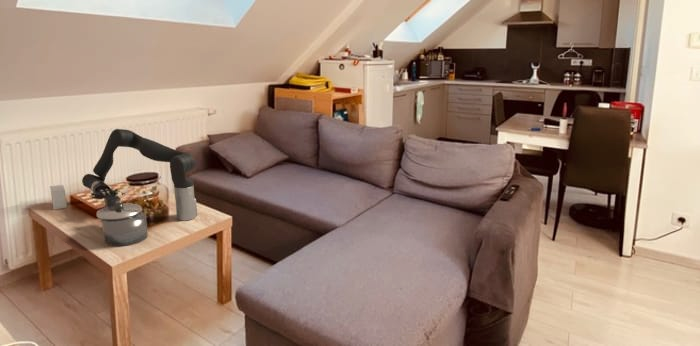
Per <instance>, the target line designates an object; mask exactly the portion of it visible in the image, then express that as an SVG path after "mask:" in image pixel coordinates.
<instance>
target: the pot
mask: <svg viewBox="0 0 700 346" xmlns="http://www.w3.org/2000/svg"><path fill="white" fill-rule="evenodd" d="M101 223H102V232H103V238H104V243H105V244H106V245H107V246H111V247H127V246H132V245H136V244H139V243H141V242H143V241H145V240H146V239H147V238H148V237H149V234H148V232H149V231H148V225H147V224H148V223H147V215H146V212H145V213H144V212H143V211H142V212H141V213H140V214H138V215H136V216H134V217H131V218H127V219H122V220H102V219H101Z"/></svg>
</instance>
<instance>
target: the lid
mask: <svg viewBox="0 0 700 346" xmlns="http://www.w3.org/2000/svg"><path fill="white" fill-rule="evenodd" d="M103 200H104V207H101V208H100V209H98V210H97V212H96V217H97V218H98V219H99V220H101V221H102V220H122V219H127V218H131V217H134V216H136V215H138V214H140V213H141V212H143V207H142V206H141V205H140V204H133V203H124V202H123V203H122V202H121V201H122V200H121V197H120V196H119V194H117V195H116V196H112V197H106V198H103Z"/></svg>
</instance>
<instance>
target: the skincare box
mask: <svg viewBox="0 0 700 346" xmlns="http://www.w3.org/2000/svg"><path fill="white" fill-rule="evenodd" d="M49 190H50V194H51V202H52V209H53V210H61V209H66V208H68V204H67V196H66V190H65V186H64V184H58V185H57V184H56V185H50V186H49Z"/></svg>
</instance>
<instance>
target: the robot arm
mask: <svg viewBox="0 0 700 346" xmlns="http://www.w3.org/2000/svg"><path fill="white" fill-rule="evenodd" d="M119 147H120V148H121V147H122V148H123V147H124V148H132V149H134V150H137V151H139V153H140V155H142V156H143V157H145V158H147V159H149V160H152V161H155V162H163V163H169V169H170V176H171V177H170V178H171V180H172V183H173V190H174V198H175V199H174V200H175V202H174V203H175V210H176V219H177V220H178V221H182V222H183V221H185V222H186V221H192V220H193V219H196V217H197V216H198V207H197V204H198V203H197V198H195V188H194V180H193V179H192V178H189V177H187V175H186V173H189V172H190V171H193V170H194V169H195V168H196V166H197V161H196V159H195V158H194V156H192V155H191V154H190V153H187V152H184V151H179V150H176V149H173V148H171V147H169V146H167V145H164V144H161V143H160V142H157V141H155V140H152V139H149V138H146V137H143V136H140V135H139V134H138V133H136V132H134V131H132V130H130V129H123V128H122V129H121V128H116V129H113V130H112V131H111V133H110V135H109V136H108V139H107V142H106V143H105V147H104V149H103V151H102V154H101V156H100V158H99V159H98V161H97V163H96V164H95V165H94V167H93V169H92V171H93V173H92V174H91V173H86V174H84V176H83V177H82V179H81V182H82V185H83V186H84V187H86V188H87V189H89V190H91V193H90V197H91V199H95V200H104V198H106V197H112V196H117V195H119V189H118V188H115V189H112V188H111V187H110V186H109V185H108V184H107V183H106V182H105V180H106V177H107V175H108V173H109V172H110V170H111V168H112V167H113V165H114V153H115V152H116V150H117V149H118V148H119Z"/></svg>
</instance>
